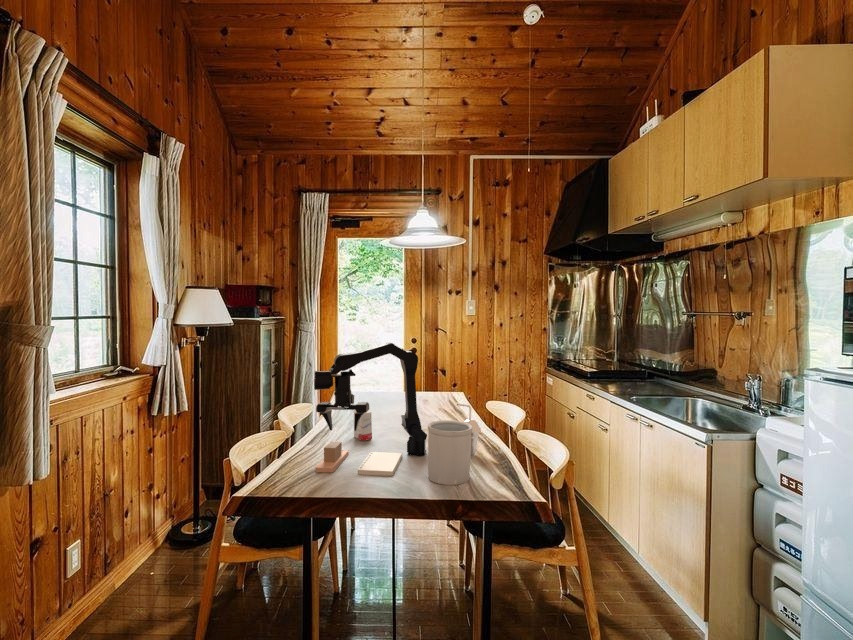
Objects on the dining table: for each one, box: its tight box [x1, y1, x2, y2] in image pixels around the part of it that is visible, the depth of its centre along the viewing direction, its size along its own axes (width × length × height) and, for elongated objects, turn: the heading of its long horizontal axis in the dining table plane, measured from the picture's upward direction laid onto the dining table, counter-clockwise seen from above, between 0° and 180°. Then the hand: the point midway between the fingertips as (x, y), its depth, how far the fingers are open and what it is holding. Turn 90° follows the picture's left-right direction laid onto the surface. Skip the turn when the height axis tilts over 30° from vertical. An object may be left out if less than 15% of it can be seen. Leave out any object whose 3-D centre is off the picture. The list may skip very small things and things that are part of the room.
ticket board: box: [357, 451, 403, 477], centre depth 167 cm, size 12×20×2 cm, turn 174°
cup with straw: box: [456, 403, 482, 458], centre depth 179 cm, size 8×9×20 cm
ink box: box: [353, 410, 373, 441], centre depth 201 cm, size 9×5×12 cm, turn 33°
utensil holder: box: [427, 419, 472, 486], centre depth 155 cm, size 15×15×18 cm
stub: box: [314, 440, 350, 474], centre depth 169 cm, size 6×20×6 cm, turn 174°
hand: (343, 430), depth 173 cm, fingers open, 9 cm apart
